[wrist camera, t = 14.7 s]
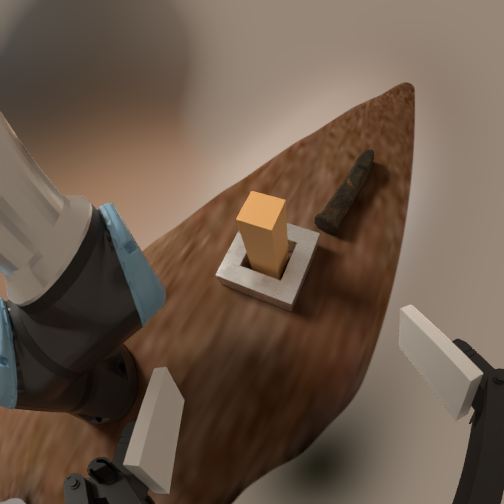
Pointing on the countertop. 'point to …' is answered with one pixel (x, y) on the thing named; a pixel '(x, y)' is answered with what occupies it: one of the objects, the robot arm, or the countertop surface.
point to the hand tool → (345, 195)
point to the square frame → (265, 286)
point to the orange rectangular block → (265, 233)
